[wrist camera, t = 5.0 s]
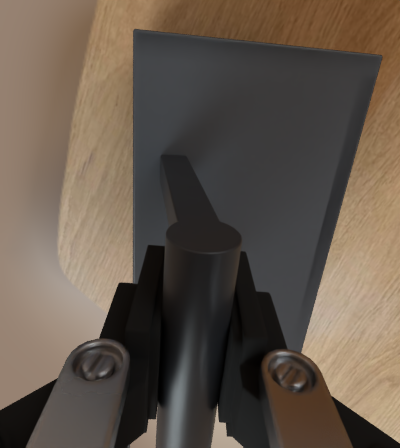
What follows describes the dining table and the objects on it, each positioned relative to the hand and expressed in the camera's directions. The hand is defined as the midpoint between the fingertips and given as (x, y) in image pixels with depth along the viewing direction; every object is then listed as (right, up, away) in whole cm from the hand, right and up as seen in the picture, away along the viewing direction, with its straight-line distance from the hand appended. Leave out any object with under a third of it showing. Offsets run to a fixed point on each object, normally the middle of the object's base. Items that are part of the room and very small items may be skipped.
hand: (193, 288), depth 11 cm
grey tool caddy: (+6, +2, +6) cm, 9 cm away
